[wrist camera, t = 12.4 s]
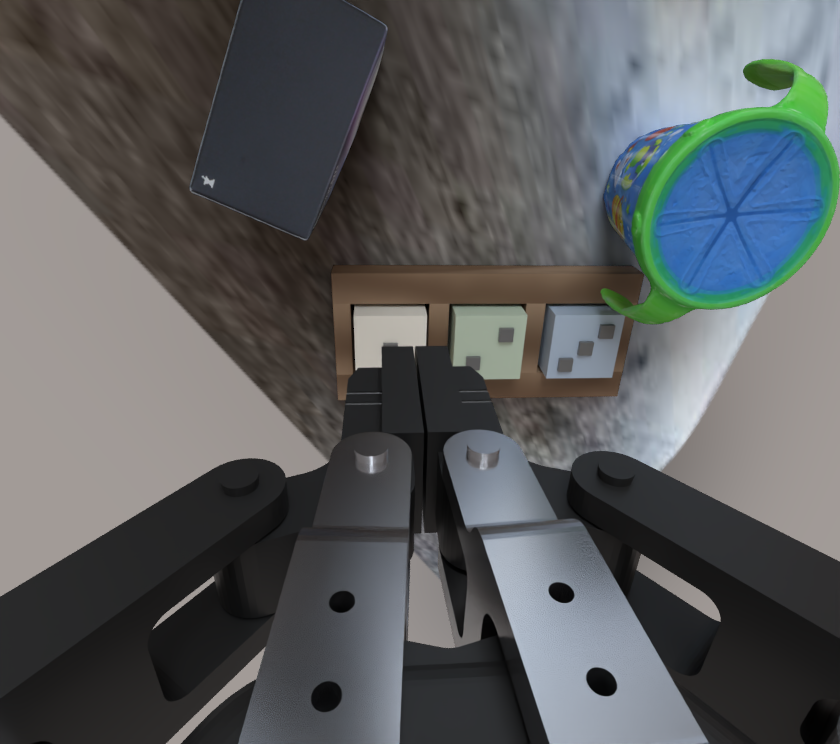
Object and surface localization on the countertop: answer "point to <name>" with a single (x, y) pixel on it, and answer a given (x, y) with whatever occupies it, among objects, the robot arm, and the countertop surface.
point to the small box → (287, 109)
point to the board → (485, 287)
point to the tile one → (386, 330)
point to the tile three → (580, 340)
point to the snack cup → (726, 199)
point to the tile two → (488, 338)
